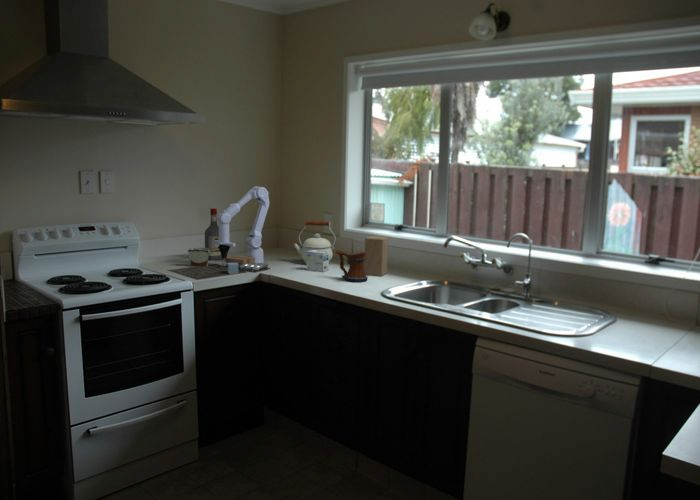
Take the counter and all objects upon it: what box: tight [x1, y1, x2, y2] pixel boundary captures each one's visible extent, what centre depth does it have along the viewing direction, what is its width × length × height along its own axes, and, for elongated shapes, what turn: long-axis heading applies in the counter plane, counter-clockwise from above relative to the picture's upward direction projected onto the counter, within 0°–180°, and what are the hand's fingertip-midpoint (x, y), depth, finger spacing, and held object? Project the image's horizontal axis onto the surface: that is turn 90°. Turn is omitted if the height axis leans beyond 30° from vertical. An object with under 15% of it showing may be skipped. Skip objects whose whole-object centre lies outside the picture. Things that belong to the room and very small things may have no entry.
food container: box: [187, 247, 210, 268], centre depth 326 cm, size 12×6×10 cm, turn 84°
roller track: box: [219, 261, 271, 274], centre depth 323 cm, size 13×24×3 cm, turn 61°
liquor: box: [204, 207, 223, 261], centre depth 347 cm, size 9×9×30 cm
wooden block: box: [364, 235, 389, 277], centre depth 314 cm, size 10×10×20 cm
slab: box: [225, 255, 255, 265], centre depth 324 cm, size 10×12×2 cm
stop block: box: [227, 263, 239, 275], centre depth 310 cm, size 5×5×6 cm
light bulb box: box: [306, 250, 330, 273], centre depth 322 cm, size 11×7×11 cm, turn 65°
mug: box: [336, 249, 369, 283], centre depth 299 cm, size 18×12×15 cm, turn 57°
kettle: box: [293, 220, 337, 265], centre depth 342 cm, size 25×18×25 cm
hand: (224, 258), depth 329 cm, fingers closed
